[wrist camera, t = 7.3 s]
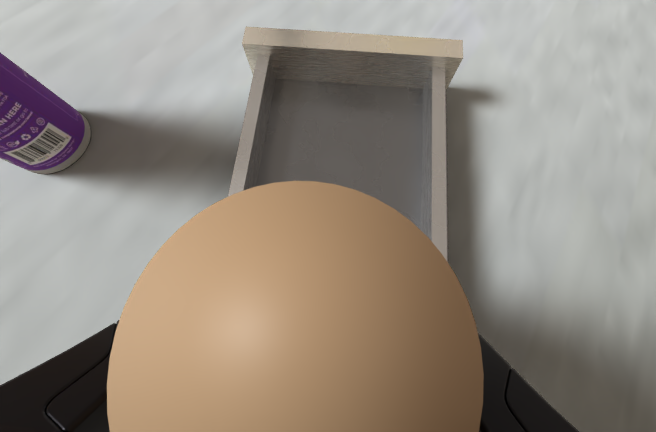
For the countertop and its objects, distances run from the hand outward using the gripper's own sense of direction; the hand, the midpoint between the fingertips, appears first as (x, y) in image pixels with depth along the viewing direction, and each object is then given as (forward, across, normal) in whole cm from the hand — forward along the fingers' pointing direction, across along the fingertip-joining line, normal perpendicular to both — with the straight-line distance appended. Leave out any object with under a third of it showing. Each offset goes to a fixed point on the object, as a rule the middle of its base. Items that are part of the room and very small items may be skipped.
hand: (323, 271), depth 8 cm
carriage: (+4, 0, +6) cm, 7 cm away
